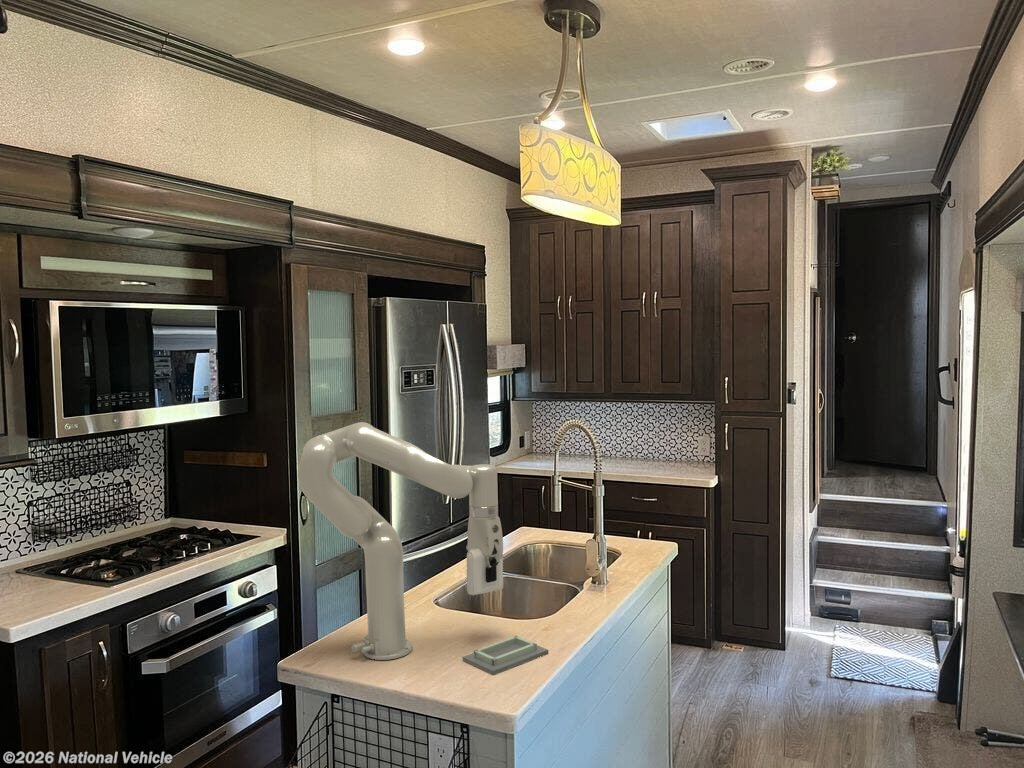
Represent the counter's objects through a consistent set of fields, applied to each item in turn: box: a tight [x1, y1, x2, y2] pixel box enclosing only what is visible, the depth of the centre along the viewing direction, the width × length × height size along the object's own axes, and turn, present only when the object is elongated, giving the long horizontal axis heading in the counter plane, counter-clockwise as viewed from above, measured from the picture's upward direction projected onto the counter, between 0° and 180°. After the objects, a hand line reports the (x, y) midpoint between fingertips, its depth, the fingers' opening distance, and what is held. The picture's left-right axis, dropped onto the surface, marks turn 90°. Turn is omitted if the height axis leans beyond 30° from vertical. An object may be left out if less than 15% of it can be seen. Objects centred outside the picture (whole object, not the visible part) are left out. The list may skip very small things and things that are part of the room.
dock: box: [462, 635, 549, 676], centre depth 196 cm, size 18×12×2 cm, turn 131°
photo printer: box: [466, 548, 504, 596], centre depth 208 cm, size 10×4×12 cm, turn 124°
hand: (484, 578), depth 208 cm, fingers closed on photo printer, 4 cm apart
